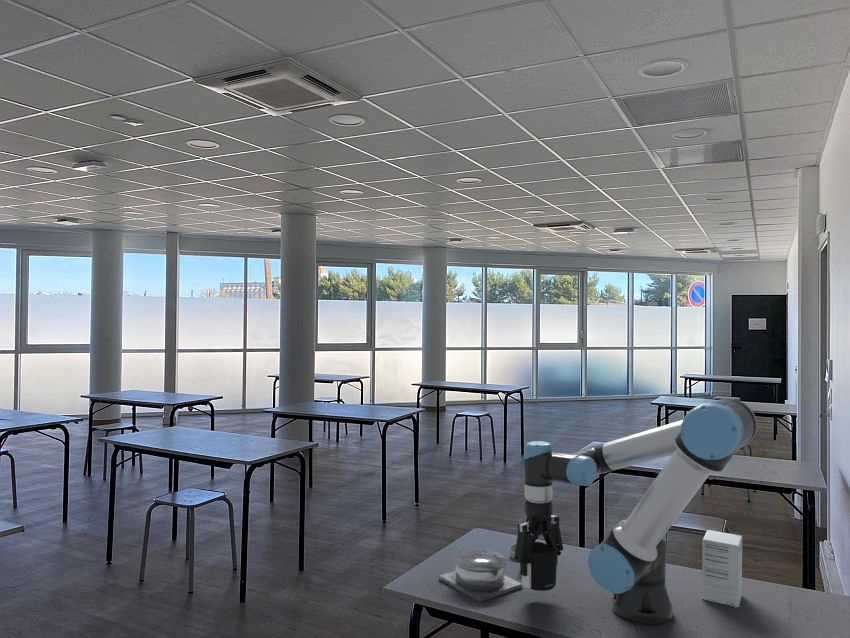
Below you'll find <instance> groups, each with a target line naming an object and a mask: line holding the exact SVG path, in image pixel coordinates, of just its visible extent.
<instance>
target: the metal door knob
mask: <svg viewBox="0 0 850 638" xmlns="http://www.w3.org/2000/svg"><path fill="white" fill-rule="evenodd" d="M454 564H455V570H454V571H453V570H452V571H449V572H447V573H444V574H439V575H438V580H439V579H440V580H439V581H440V582H442V581H443V583H444V584H446V585H448V586H449V587H451V588H452V589H455V590H456V591H458V592H460V593H462V594H463V595H465V596H468V597H469V598H471V599H472V600H474V601H476V602H477V603H483V602H485V601H488V600H491V599H494V598H498V597H500V596H503V595H505V594H508V593H512V592H515V591H517V590H520V589H523V586H522V582H519V581H517V580H516V579H514V578H511V577H509V576H508V575H506V573H505V568H506V567H505V566H506V564H507V558H506V557H505V556H504V555H503V554H501V553H499V552H497V551H494V550H489V549H481V548H480V549H474V548H473V549H465V550H463V551H460V552H458V553H457V554H455V556H454Z"/></svg>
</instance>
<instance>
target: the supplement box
mask: <svg viewBox="0 0 850 638" xmlns="http://www.w3.org/2000/svg"><path fill="white" fill-rule="evenodd" d="M701 545H702V546H701V547H702V548H701V549H702V551H701V552H702V553H701V554H702V555H701V556H702V557H701V558H702V560H701V561H702V563H701V564H702V565H701V568H702V569H701V570H702V571H701V574H702V575H701V580H702V581H701V600H702V599H705V600H709V601H714V602H718V603H723V604H727V605H731V606H736V607H739V608H740V604H741V601H742V596H743V583H742V582H743V580H742V579H743V535H740V534H734V533H727V532H724V531H723V532H722V531H717V530H712V529H711V530H709V529H706V531H705V534H704V536H703V538H702V544H701ZM705 600H704V601H705ZM709 601H708V602H709ZM714 602H713V603H714ZM718 603H717V604H718ZM727 605H726V606H727ZM731 606H730V607H731ZM736 607H735V608H736Z"/></svg>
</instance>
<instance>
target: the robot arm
mask: <svg viewBox="0 0 850 638" xmlns="http://www.w3.org/2000/svg"><path fill="white" fill-rule="evenodd" d="M757 420H758V419H757V417H756V415H755V413H754V411H753V410H752V409H751V407H750V406H748V405H747V404H745V403H744V402H743V401H740V400H738V399H736V398H721V399H717V400H713V401H710V402H709V401H708V402H704V403H701V404H698V405H695V406H694V408H692V409H690V410H689V412H687V413H686V414H685V416H684V417H683V419H681V420H678V421H673V422H671V423H668V424H664V425H661V426H657V427H654V428H650V429H647V430H643V431H640V432H638V433H633V434H631V435H627V436H623V437H620V438H617V439H614V440H610V441H608V442H604V443H601V444H596V445H592V446H590V447H586V448H585V449H582V450H577V451H575V452H572V453H571V452H570V453H565V452H557V451H553V446H552V445H553V444H552V443H550V442H547V441H541V440H540V441H538V440H535V441H528V442H527V443H525V445H524V451H523V452H524V453H523V464H524V465H523V466H524V498H525V499H524V513H525V515H526V520H525V522H524V523H520V522H518V523H517V539H516V542H517V543H516V542H515V543H516V549H515V556H514V559H513V560H514V562H516V563H519V565H520V568H519V569H520V570H519V571H520V575H521V583H522V588H523V587H524V588H526V589H528V590H532V589H531V564H530V563H528V562H529V559H530V555H531V553H532V550H533V547H534V544H535V542H537V541H536V540H538V538H539V536H541V535H542V537H543V539H544V541H545V542H544V543H545V544H547V545H548V546H549V547H551V548H557V564H556V581H557V580H558V578H557V577H558V575H557V574H558V573H557V572H558V571H557V570H558V567H557V566H558V561H559V559H558V556H561V555H562V551H563V550H564V545H563V539H562V534H561V530H560V529H561V528H560V517H559V516H557V515H555V514H553V513H554V508H553V507H554V505H553V500H552V499H553V497H554V496H553V495H554V493H553V491H554V489H553V481H554V482H559V483H566V484H569V485H574V486H581V487H582V486H585V487H589V486H591V485H592V484H593V483H594V481H595V480H596V478H597V476H598V475H599V476H600V475H601V474H605V473H609V472H614V471H616V470H620V469H624V468H627V467H631V466H636V465H640V464H642V463H647V462H650V461H653V460H654V461H655V460H658V459H662V458H665V457H666V458H667V457H670V458H669V459H668V461H667V462H666V464H665V465H664V466H663V467H662V469H661V470H660V472H659V473H658V475H657V476H656V478H655V479H654V480H653V482H652V483H651V485H650V486H649V487H648V489H647V490H646V492H645V493H644V495H643V496H642V497H641V499H640V500H639V502H638V503H637V505H636V506H635V507H634V508H633V510H632V512H631V513H630V514H629V516H628V517H627V518H626V519H622V520H621V521H619V522H616V523H615V524H614V525H613V527H612V528H611V530H609V532H608V534H607V535H606V537H605V538H604V539H603V541H602V542H601V543H599V544H597V545H595V546H594V547H593V548H592V550H591V551H590V553H589V555H588V560H587V563H588V567H589V572H590V574H591V577H592V578H593V580H594V581H595V583H596V584H597V585H598V586H600V588H602V589H603V590H605V591H606V592H609V593H611V594H612V597H611V608H612V611H613V612H614V613H616V615H618V616H620V617H621V618H623V619H625V620H628V621H631V622H635V623H640V624H643V625H647V624H648V625H659V624H664V623H668V622H669V621H671V619H672V618H673V612H674V611H673V610H674V609H673V605H672V602H671V601H672V600H671V597H670V594H669V592H668V587H667V585H666V580H667V579H666V578H667V577H666V576H667V575H666V574H667V542H668V541H667V536H666V535H667V533H668V532H669V530H670V528H672V526H673V525H674V523H675V522H676V520H678V518H679V516H680V515H681V514H682V513H683V511H684V510H685V508H686V507H687V506H688V504H689V503H690V501H692V499H693V498H694V496H695V494H697V492H698V491H699V489H701V487H702V486H703V484H704V483H705V482H706V480H707V478H708V477H709V476H710V475H711V474H719V473H722V472H723V470H724V469H725V468H726V466H727V464H728V463H729V462H730V461H731V460H732V458H733V457H734V456H735V454H736V453H737V452H738V451H739V450H740V449H742V448H744V447H746V446H747V445H748V444H750V443H751V442H752V441H753V439H754V438H755V437H756V434H757V431H758V421H757ZM524 557H525V559H524Z"/></svg>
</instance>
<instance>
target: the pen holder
mask: <svg viewBox="0 0 850 638" xmlns="http://www.w3.org/2000/svg"><path fill="white" fill-rule="evenodd" d="M524 559H525V557H524ZM528 563H530V564H531V589H530V590H533V591H536V592H537V591H539V592H540V591H541V592H543V591H544V592H546V591H550V590H553V589H554V588H555V587H556V584H557V580H556V564H557V548H551V547H549V546H548V545H547V544H546V542H542V541H535V544H534V547H533V550H532V553H531V555H530V559H529V562H528ZM557 565H558V564H557Z"/></svg>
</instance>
